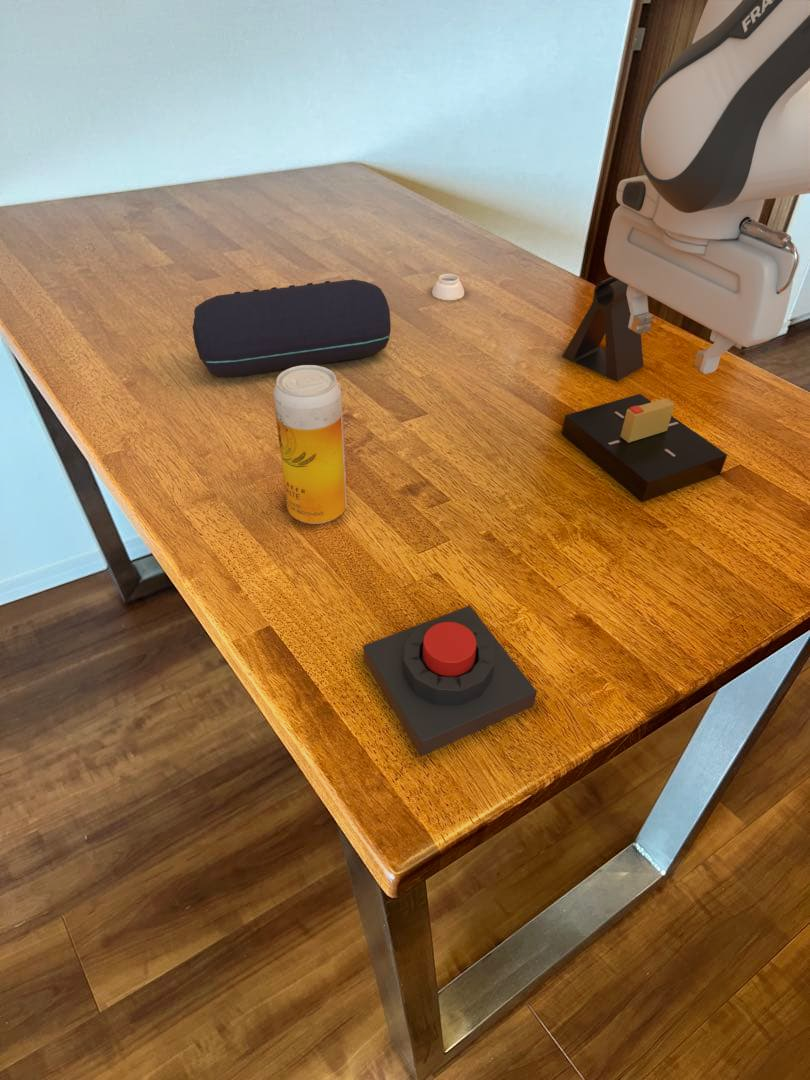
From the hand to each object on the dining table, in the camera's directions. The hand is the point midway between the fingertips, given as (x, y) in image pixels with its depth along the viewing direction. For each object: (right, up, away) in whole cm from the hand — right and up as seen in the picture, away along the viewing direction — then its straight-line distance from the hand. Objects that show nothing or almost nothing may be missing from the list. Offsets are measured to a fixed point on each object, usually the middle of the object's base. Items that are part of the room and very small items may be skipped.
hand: (669, 349), depth 73 cm
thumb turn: (0, -7, +8) cm, 10 cm away
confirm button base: (-23, -31, -14) cm, 41 cm away
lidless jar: (-20, +19, +41) cm, 50 cm away
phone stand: (0, +5, +26) cm, 26 cm away
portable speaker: (-41, +4, +25) cm, 48 cm away
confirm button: (-23, -28, -17) cm, 40 cm away
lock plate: (0, -10, +10) cm, 14 cm away
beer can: (-35, -16, +2) cm, 39 cm away
